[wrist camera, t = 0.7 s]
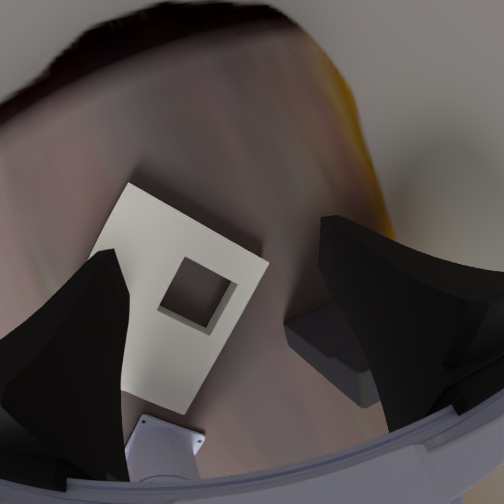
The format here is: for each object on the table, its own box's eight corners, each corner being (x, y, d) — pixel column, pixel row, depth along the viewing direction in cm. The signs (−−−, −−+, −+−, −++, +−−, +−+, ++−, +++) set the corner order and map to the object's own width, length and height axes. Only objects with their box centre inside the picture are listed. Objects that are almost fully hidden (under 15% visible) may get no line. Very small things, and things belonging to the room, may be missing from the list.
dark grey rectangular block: (288, 351, 35) (364, 418, 20) (280, 317, 34) (359, 374, 20) (366, 316, 38) (457, 355, 23) (362, 284, 37) (458, 313, 23)
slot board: (182, 403, 32) (184, 415, 29) (56, 343, 27) (50, 352, 25) (261, 259, 33) (269, 262, 30) (130, 185, 29) (128, 182, 26)
